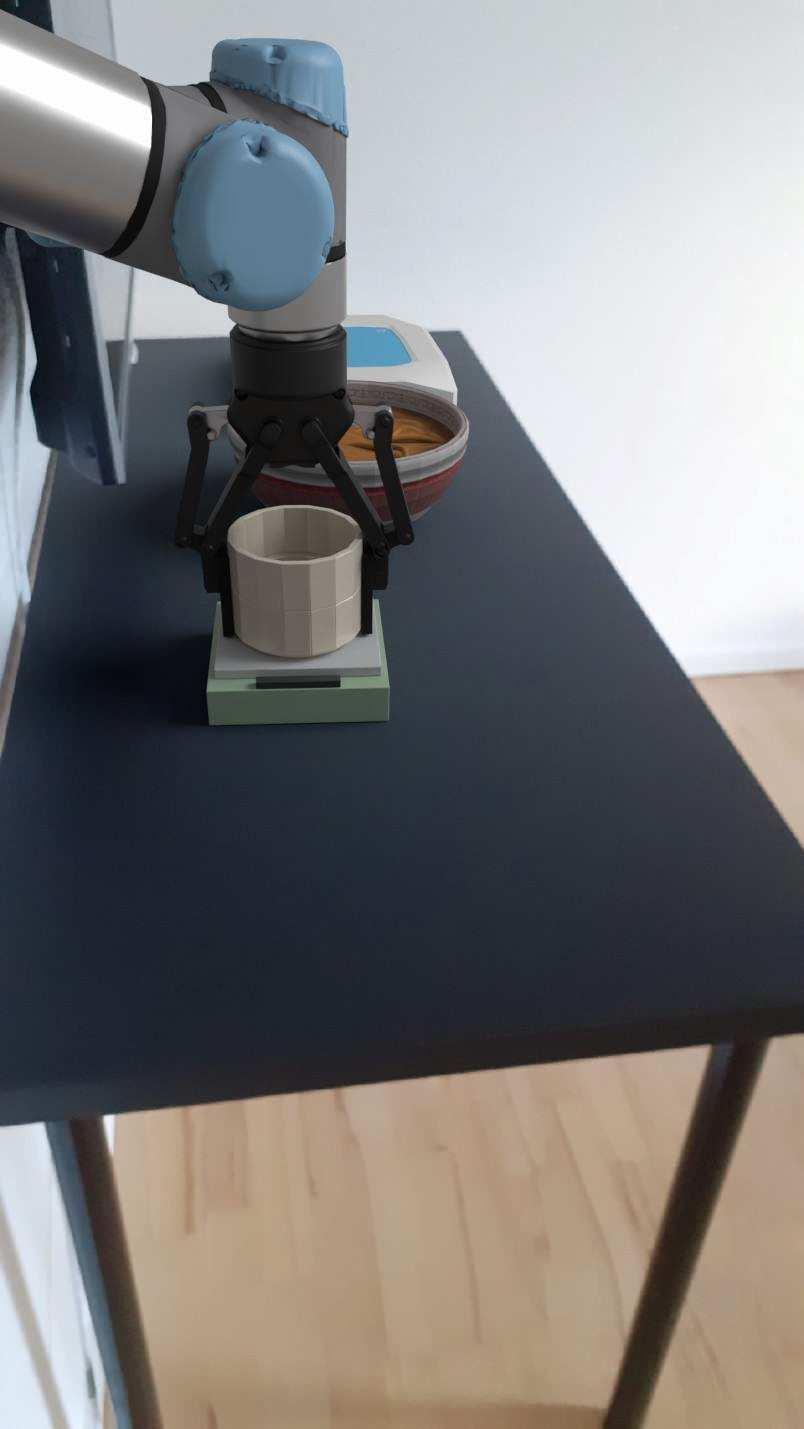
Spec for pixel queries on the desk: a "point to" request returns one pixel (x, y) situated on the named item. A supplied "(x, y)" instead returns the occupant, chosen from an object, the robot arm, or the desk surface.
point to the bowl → (420, 444)
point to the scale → (298, 682)
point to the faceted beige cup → (296, 579)
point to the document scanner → (396, 355)
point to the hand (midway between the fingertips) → (298, 626)
